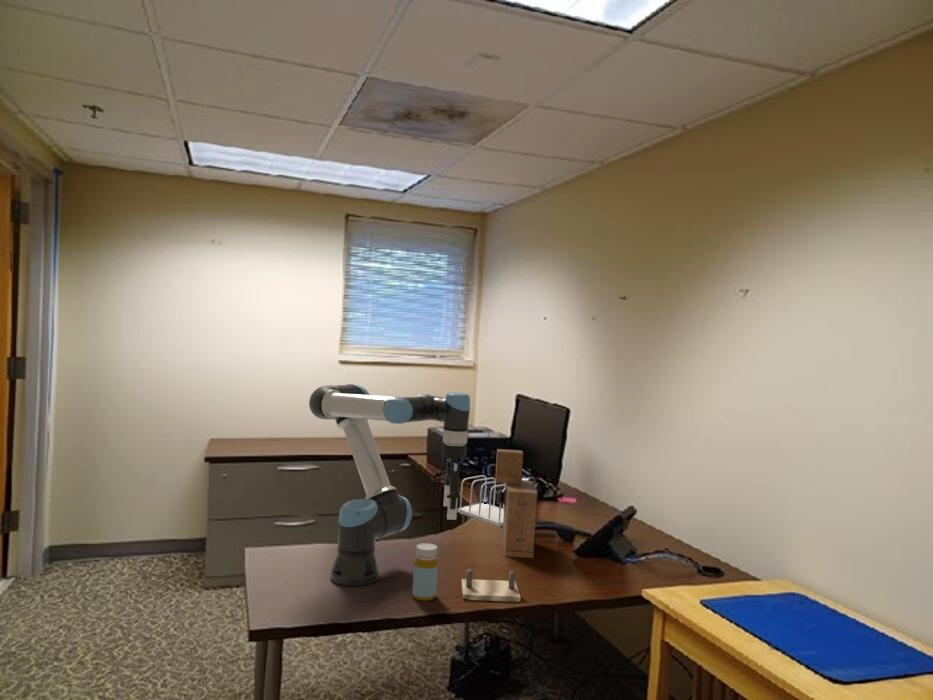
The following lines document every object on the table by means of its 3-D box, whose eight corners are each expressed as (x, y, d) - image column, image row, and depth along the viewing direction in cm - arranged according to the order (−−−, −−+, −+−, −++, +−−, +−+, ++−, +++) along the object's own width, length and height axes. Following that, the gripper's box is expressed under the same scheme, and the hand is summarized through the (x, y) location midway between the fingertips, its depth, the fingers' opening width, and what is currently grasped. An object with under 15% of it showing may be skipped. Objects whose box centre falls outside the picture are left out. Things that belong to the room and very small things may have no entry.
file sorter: (457, 512, 279) (459, 477, 279) (484, 507, 292) (486, 473, 291) (499, 527, 262) (501, 489, 261) (526, 520, 274) (528, 484, 274)
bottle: (436, 592, 191) (438, 543, 191) (435, 602, 184) (438, 551, 184) (412, 591, 191) (415, 542, 191) (411, 601, 184) (414, 549, 184)
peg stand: (463, 599, 187) (464, 577, 187) (461, 583, 199) (462, 563, 199) (520, 601, 188) (521, 580, 188) (515, 585, 200) (516, 565, 200)
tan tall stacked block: (491, 538, 246) (497, 448, 245) (528, 540, 246) (533, 450, 245) (493, 555, 227) (499, 458, 226) (533, 557, 227) (539, 460, 226)
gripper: (471, 452, 182) (466, 525, 182) (462, 437, 206) (457, 501, 207) (445, 451, 181) (440, 524, 181) (439, 435, 205) (434, 500, 206)
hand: (449, 512), depth 194 cm, fingers open, 13 cm apart
